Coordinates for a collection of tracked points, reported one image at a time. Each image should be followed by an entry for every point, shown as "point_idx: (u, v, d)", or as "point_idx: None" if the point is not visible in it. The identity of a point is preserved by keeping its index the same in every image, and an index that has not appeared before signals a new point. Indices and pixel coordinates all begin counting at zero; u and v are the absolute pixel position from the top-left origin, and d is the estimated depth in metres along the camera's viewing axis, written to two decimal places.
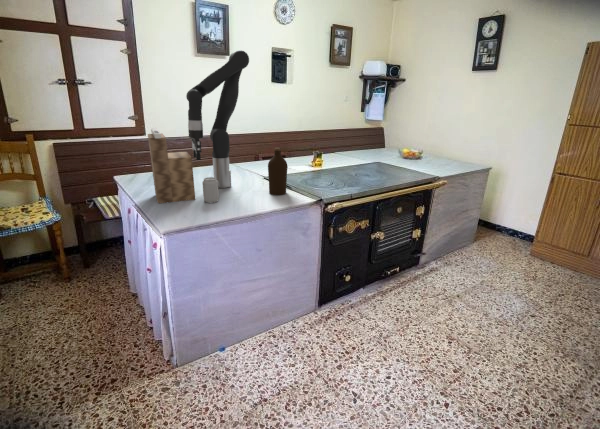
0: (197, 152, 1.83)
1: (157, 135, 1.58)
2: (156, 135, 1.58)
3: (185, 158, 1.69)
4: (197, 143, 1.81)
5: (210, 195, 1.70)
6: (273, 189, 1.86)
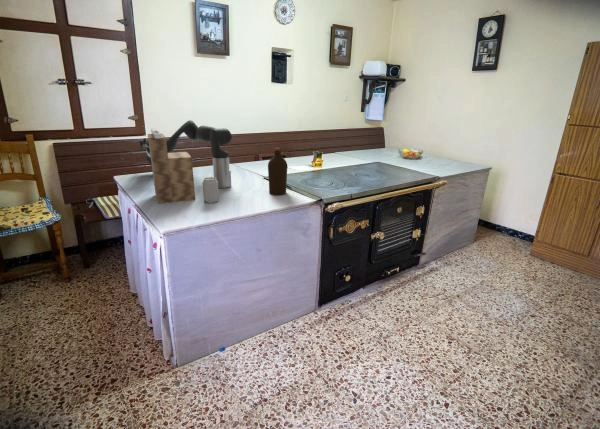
0: None
1: (157, 135, 1.58)
2: (156, 135, 1.58)
3: (185, 158, 1.69)
4: None
5: (210, 195, 1.70)
6: (273, 189, 1.86)
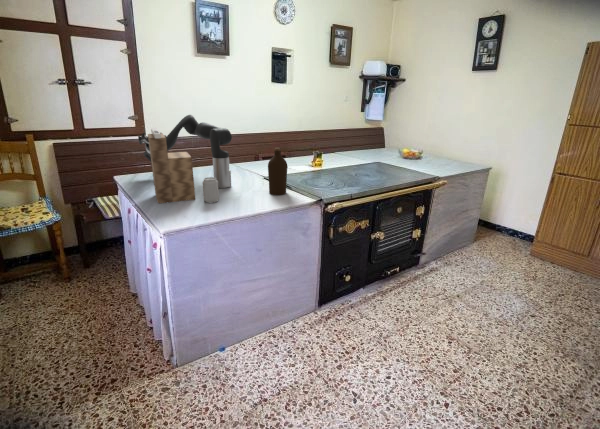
0: (165, 136, 1.90)
1: (157, 135, 1.58)
2: (156, 135, 1.58)
3: (185, 158, 1.69)
4: None
5: (210, 195, 1.70)
6: (273, 189, 1.86)
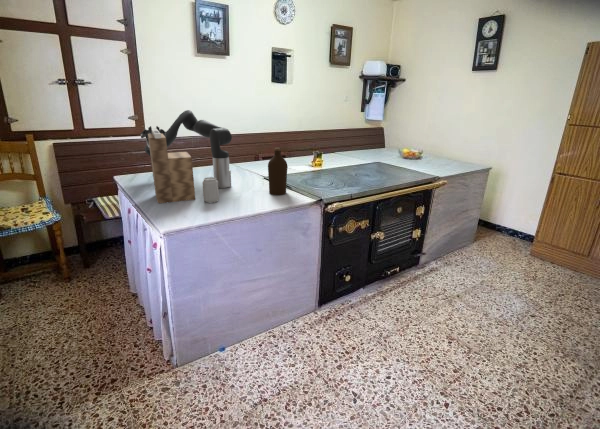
0: (162, 129, 1.82)
1: (157, 135, 1.58)
2: (156, 135, 1.58)
3: (185, 158, 1.69)
4: (166, 133, 1.86)
5: (210, 195, 1.70)
6: (273, 189, 1.86)
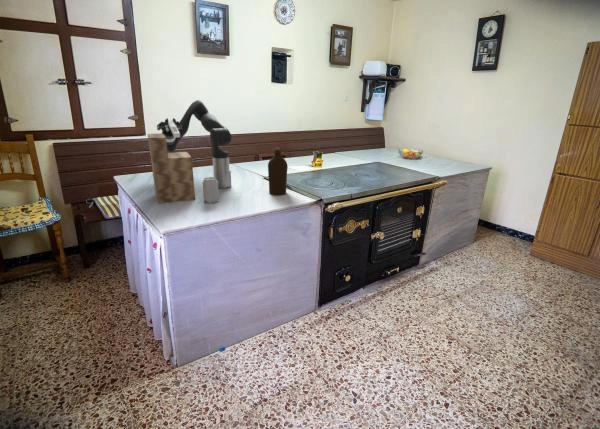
0: (178, 122, 1.84)
1: (176, 134, 1.62)
2: (175, 134, 1.62)
3: (185, 158, 1.69)
4: (181, 125, 1.88)
5: (210, 195, 1.70)
6: (273, 189, 1.86)
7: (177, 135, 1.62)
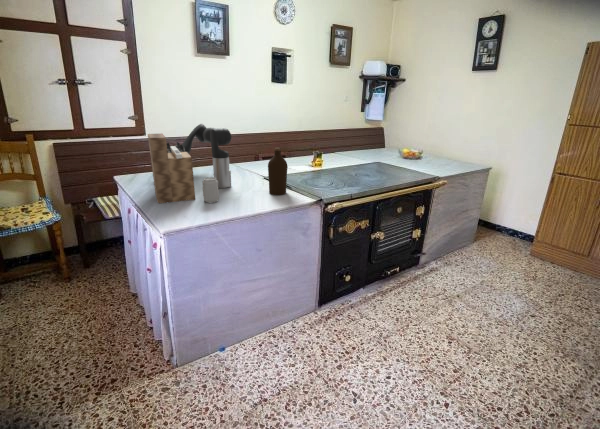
0: (182, 145, 1.89)
1: (178, 155, 1.66)
2: (177, 155, 1.65)
3: (185, 158, 1.69)
4: (184, 148, 1.93)
5: (210, 195, 1.70)
6: (273, 189, 1.86)
7: (179, 156, 1.66)
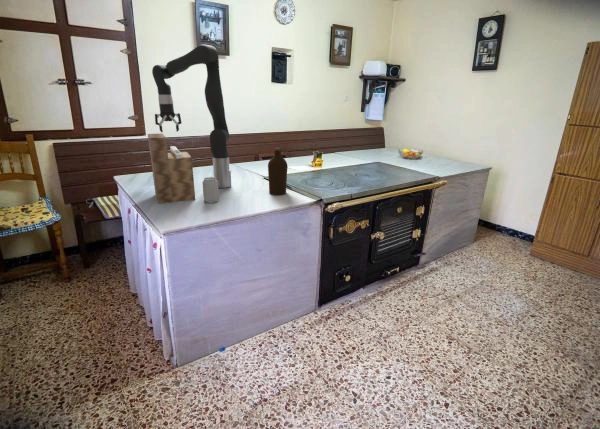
0: None
1: (178, 155, 1.66)
2: (177, 155, 1.65)
3: (185, 158, 1.69)
4: None
5: (210, 195, 1.70)
6: (273, 189, 1.86)
7: (179, 156, 1.66)
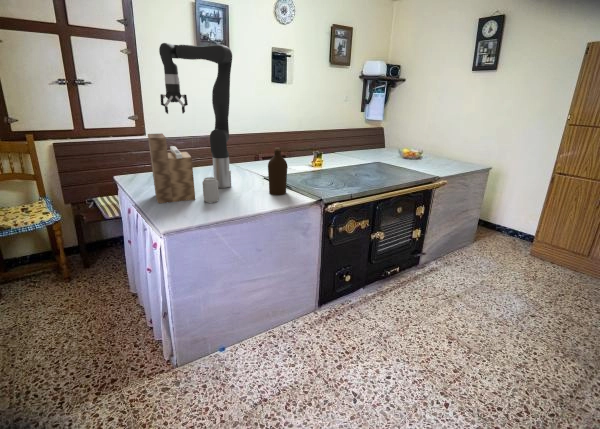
0: None
1: (178, 155, 1.66)
2: (177, 155, 1.65)
3: (185, 158, 1.69)
4: (186, 96, 1.96)
5: (210, 195, 1.70)
6: (273, 189, 1.86)
7: (179, 156, 1.66)
